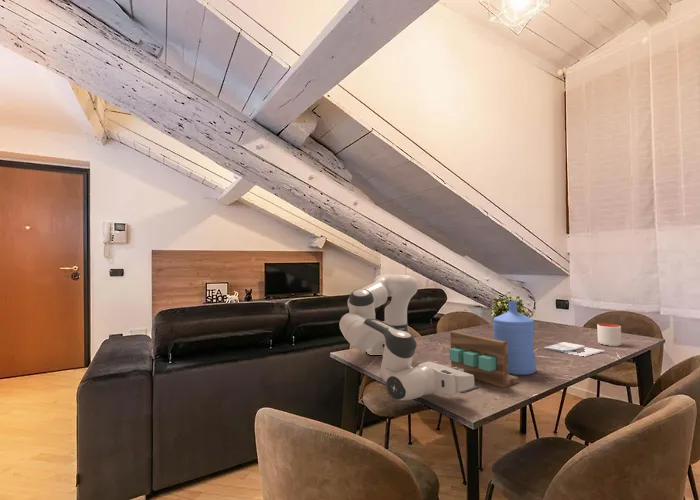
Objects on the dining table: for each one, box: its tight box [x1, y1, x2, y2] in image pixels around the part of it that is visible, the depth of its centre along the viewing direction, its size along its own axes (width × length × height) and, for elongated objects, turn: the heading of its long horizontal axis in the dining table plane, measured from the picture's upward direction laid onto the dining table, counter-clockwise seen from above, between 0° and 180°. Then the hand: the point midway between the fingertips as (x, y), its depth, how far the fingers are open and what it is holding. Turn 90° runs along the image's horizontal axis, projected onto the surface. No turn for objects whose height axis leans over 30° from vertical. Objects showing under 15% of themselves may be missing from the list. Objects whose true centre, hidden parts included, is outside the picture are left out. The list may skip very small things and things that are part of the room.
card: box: [460, 384, 479, 394], centre depth 134 cm, size 8×14×1 cm, turn 33°
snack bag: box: [543, 341, 607, 358], centre depth 179 cm, size 19×20×2 cm
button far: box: [448, 347, 466, 363], centre depth 146 cm, size 7×4×4 cm, turn 123°
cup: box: [596, 323, 622, 347], centre depth 189 cm, size 10×10×10 cm
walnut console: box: [449, 330, 519, 388], centre depth 143 cm, size 9×24×16 cm, turn 33°
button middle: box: [463, 350, 481, 367], centre depth 140 cm, size 7×4×4 cm, turn 123°
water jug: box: [492, 300, 537, 376], centre depth 151 cm, size 16×16×28 cm
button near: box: [479, 354, 497, 371], centre depth 134 cm, size 7×4×4 cm, turn 123°
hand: (460, 370), depth 125 cm, fingers closed
